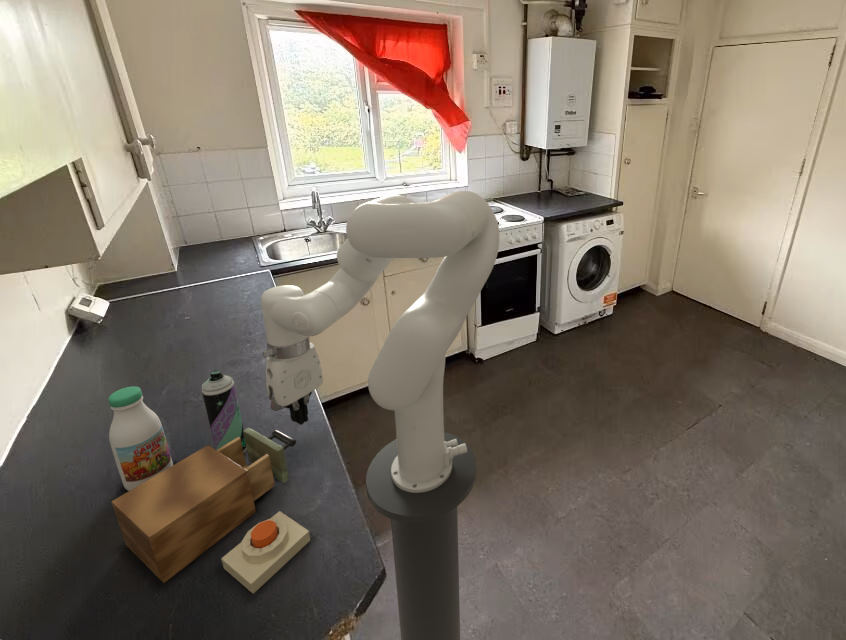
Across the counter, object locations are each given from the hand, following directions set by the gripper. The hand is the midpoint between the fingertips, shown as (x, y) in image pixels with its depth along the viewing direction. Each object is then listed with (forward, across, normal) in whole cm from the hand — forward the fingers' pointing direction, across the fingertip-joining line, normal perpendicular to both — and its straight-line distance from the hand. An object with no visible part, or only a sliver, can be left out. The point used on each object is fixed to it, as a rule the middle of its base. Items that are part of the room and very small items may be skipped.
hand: (300, 420), depth 91 cm
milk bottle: (+8, -21, +19) cm, 29 cm away
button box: (+7, -19, -16) cm, 26 cm away
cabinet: (+7, -22, 0) cm, 23 cm away
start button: (+3, -19, -16) cm, 25 cm away
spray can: (+8, -9, +12) cm, 17 cm away
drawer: (+6, -12, 0) cm, 14 cm away
